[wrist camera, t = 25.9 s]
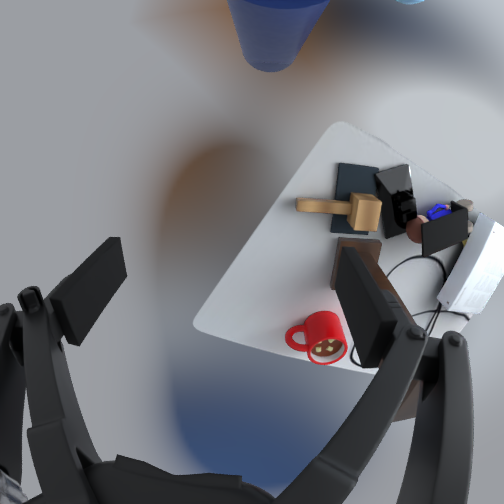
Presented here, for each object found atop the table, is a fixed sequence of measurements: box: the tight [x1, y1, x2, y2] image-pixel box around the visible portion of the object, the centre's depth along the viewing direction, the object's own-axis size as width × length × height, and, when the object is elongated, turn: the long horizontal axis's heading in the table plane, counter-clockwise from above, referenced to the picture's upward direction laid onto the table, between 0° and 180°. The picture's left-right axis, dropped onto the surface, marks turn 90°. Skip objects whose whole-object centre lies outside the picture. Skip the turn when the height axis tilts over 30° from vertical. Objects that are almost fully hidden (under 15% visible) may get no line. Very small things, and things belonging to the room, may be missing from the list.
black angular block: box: [374, 164, 417, 239], centre depth 42 cm, size 12×7×5 cm, turn 20°
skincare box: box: [437, 212, 504, 314], centre depth 46 cm, size 21×6×16 cm
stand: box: [330, 237, 420, 422], centre depth 37 cm, size 8×10×31 cm
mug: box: [285, 311, 348, 365], centre depth 54 cm, size 8×12×8 cm, turn 90°
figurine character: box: [406, 199, 473, 257], centre depth 42 cm, size 7×8×15 cm
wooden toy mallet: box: [296, 192, 382, 232], centre depth 43 cm, size 13×5×4 cm, turn 88°
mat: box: [331, 163, 379, 235], centre depth 45 cm, size 12×7×1 cm, turn 178°
